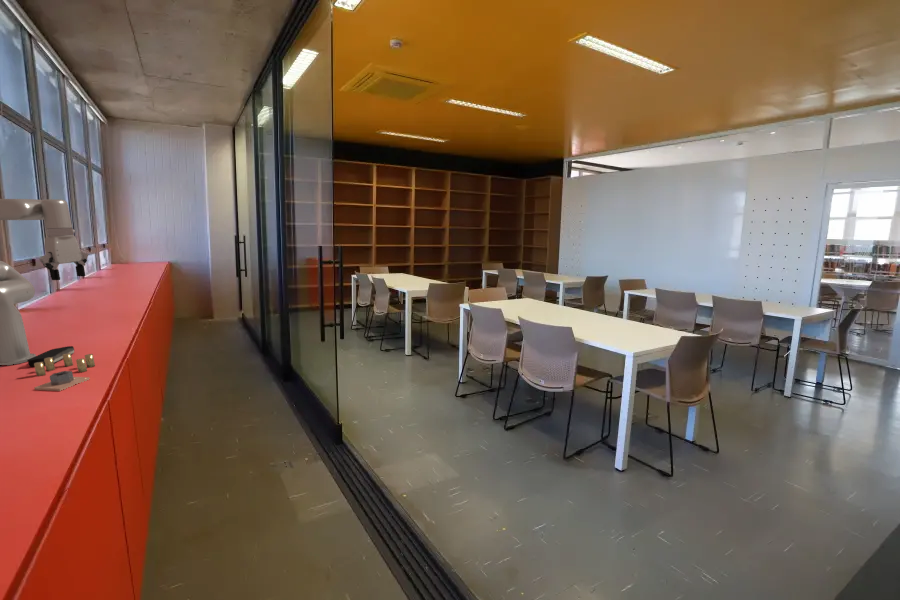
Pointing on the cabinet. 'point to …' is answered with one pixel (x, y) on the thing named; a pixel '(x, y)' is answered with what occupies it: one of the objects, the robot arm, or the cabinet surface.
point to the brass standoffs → (67, 362)
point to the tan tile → (60, 387)
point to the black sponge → (51, 355)
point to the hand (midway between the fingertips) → (69, 278)
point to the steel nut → (61, 378)
